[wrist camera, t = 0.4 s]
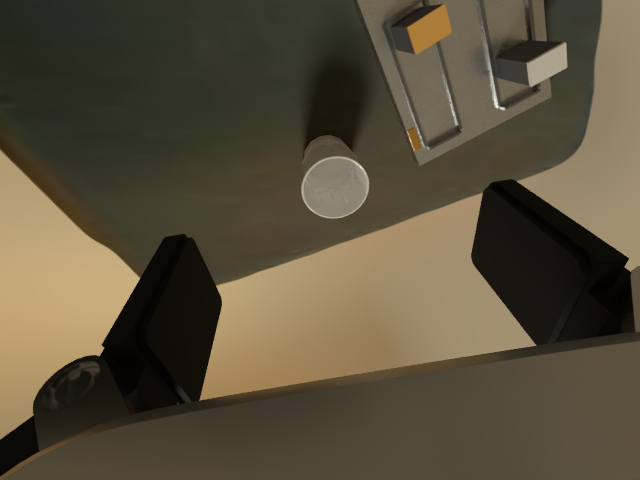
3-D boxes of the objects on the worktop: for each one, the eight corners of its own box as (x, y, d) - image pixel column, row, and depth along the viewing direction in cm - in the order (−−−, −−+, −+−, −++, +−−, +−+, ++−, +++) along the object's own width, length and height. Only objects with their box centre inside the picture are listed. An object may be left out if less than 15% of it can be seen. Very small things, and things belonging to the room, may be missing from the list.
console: (341, -30, 32) (346, -35, 29) (516, -155, 28) (537, -172, 25) (414, 160, 45) (421, 168, 42) (540, 94, 41) (556, 98, 38)
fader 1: (390, 26, 33) (407, 27, 28) (421, 6, 32) (445, 3, 28) (398, 50, 35) (416, 54, 30) (428, 31, 34) (452, 32, 29)
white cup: (291, 140, 42) (291, 169, 33) (346, 122, 41) (361, 146, 33) (308, 190, 46) (313, 226, 38) (359, 174, 45) (374, 207, 37)
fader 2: (496, 57, 36) (528, 63, 31) (527, 40, 35) (566, 42, 30) (499, 78, 37) (531, 86, 32) (529, 61, 36) (567, 67, 32)
